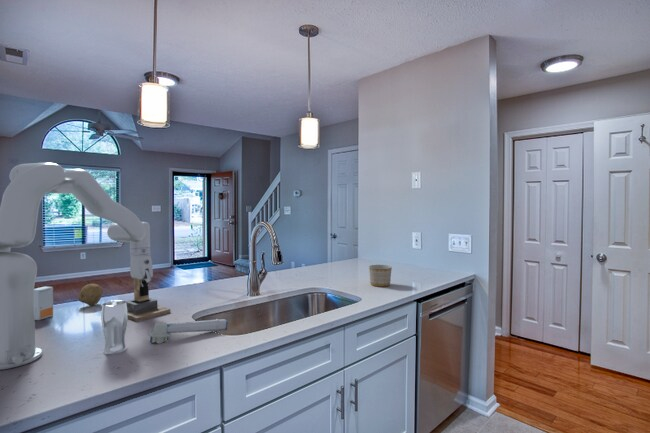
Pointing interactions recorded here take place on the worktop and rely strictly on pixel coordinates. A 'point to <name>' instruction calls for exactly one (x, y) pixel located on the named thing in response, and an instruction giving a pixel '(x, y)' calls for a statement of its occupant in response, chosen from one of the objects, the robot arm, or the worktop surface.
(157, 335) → the white handle
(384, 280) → the planter
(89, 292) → the natural sponge
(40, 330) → the worktop surface
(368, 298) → the worktop surface
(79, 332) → the worktop surface
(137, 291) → the oak peg
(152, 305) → the peg caddy
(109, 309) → the beer glass
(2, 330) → the robot arm
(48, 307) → the skincare box
